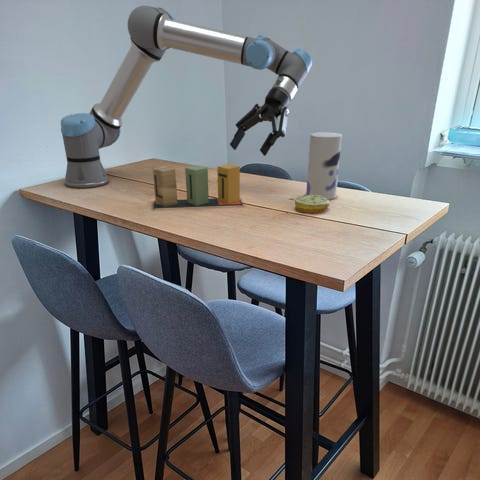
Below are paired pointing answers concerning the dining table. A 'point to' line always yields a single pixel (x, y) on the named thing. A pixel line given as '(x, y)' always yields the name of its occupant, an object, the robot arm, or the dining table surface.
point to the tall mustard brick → (228, 183)
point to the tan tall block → (165, 186)
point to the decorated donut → (311, 203)
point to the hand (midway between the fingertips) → (247, 150)
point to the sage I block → (197, 185)
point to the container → (323, 164)
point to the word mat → (211, 203)
